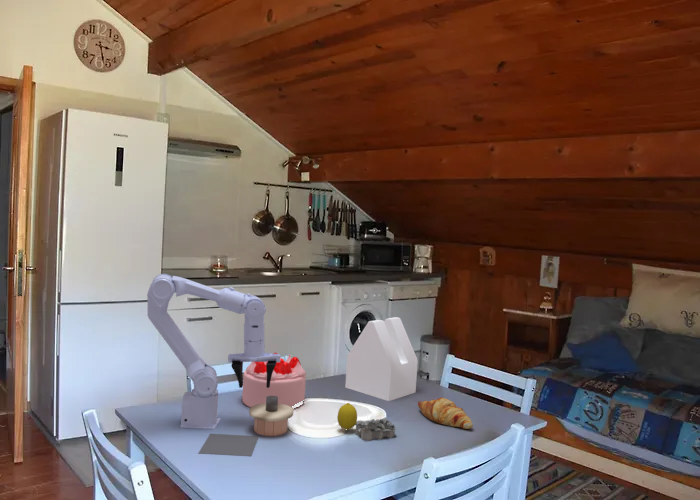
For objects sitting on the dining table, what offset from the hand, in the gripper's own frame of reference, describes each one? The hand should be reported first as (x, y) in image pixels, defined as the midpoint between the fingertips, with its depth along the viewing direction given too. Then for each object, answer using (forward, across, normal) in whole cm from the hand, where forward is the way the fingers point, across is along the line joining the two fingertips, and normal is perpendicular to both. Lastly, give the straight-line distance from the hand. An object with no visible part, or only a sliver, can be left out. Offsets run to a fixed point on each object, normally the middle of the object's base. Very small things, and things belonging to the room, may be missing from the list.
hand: (254, 386), depth 170 cm
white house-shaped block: (+14, +38, +38) cm, 56 cm away
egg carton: (+13, +34, -4) cm, 36 cm away
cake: (+11, +3, +20) cm, 23 cm away
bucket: (+11, +5, -6) cm, 13 cm away
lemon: (+12, +26, -2) cm, 29 cm away
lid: (+6, +5, -6) cm, 10 cm away
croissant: (+14, +56, +11) cm, 58 cm away
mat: (+10, -4, -18) cm, 21 cm away
